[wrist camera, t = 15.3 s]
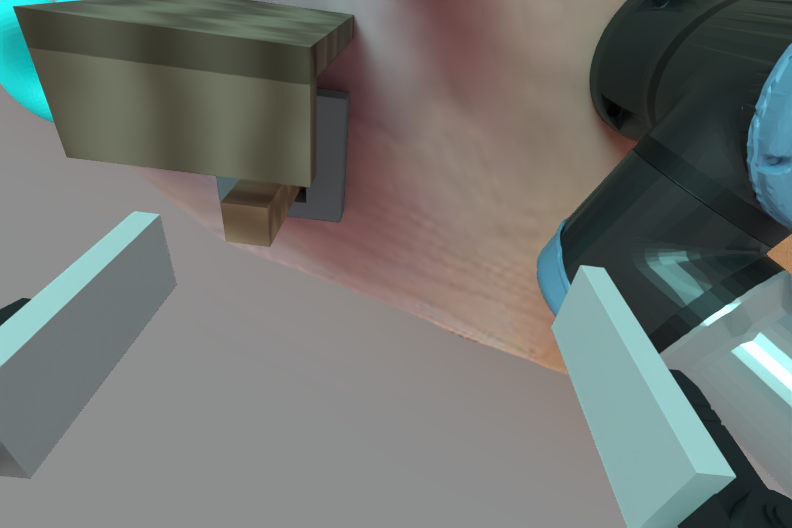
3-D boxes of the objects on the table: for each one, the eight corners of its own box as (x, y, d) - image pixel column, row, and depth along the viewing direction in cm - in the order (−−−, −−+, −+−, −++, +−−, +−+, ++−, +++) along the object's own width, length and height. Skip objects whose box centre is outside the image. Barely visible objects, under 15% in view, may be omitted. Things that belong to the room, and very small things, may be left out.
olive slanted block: (353, 15, 39) (309, 47, 23) (349, 107, 44) (310, 187, 28) (182, -10, 39) (12, 6, 22) (197, 87, 43) (66, 157, 27)
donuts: (47, -21, 30) (130, 116, 36) (126, -23, 38) (183, 89, 44) (-60, 17, 32) (34, 142, 37) (37, 7, 40) (103, 111, 45)
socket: (349, 92, 43) (345, 99, 41) (343, 210, 51) (340, 222, 49) (214, 74, 43) (202, 80, 40) (230, 196, 51) (220, 208, 48)
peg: (303, 182, 49) (269, 246, 38) (269, 178, 49) (226, 241, 38) (303, 150, 47) (267, 208, 36) (267, 146, 47) (220, 202, 36)
